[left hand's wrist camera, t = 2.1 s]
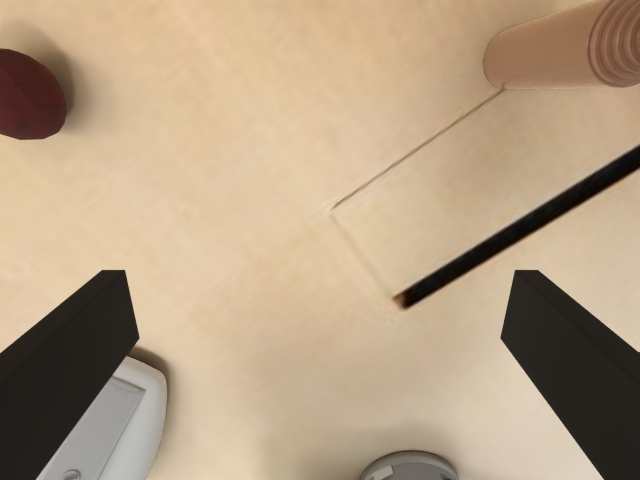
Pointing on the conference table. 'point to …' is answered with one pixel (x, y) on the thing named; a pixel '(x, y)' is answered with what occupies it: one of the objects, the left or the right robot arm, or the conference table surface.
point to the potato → (28, 98)
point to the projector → (116, 429)
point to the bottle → (570, 49)
